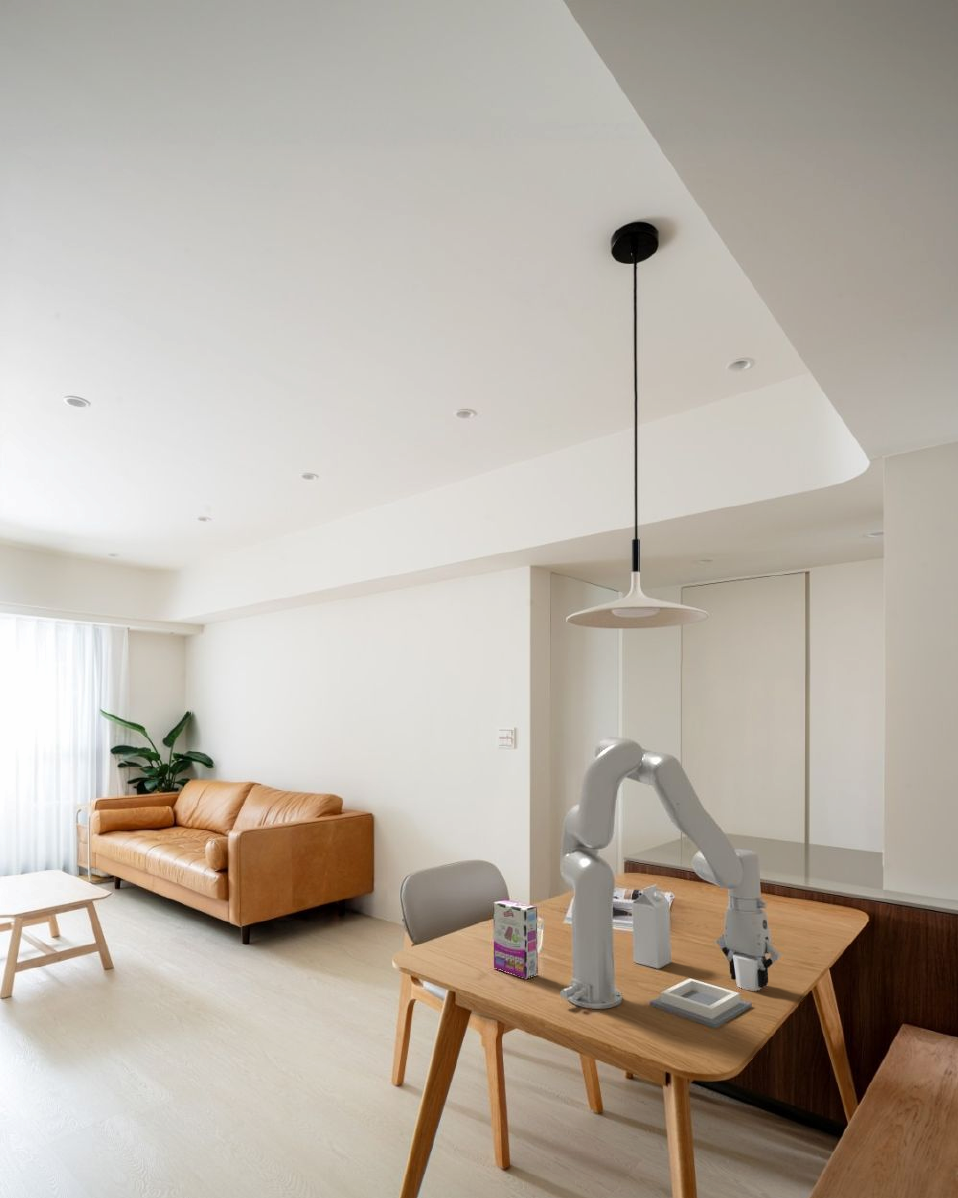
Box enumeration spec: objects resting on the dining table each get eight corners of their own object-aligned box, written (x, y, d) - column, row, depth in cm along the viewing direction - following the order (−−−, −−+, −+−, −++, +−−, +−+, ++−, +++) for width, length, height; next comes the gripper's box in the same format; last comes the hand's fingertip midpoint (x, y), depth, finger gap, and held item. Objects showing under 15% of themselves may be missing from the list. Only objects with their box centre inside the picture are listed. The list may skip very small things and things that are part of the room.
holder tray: (715, 1028, 149) (715, 1014, 149) (649, 1005, 161) (649, 992, 161) (751, 1006, 160) (751, 993, 160) (687, 986, 171) (687, 974, 172)
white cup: (739, 978, 176) (738, 948, 178) (768, 985, 172) (766, 954, 173) (729, 987, 171) (728, 956, 172) (759, 994, 167) (757, 962, 168)
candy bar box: (539, 975, 179) (538, 906, 181) (526, 980, 175) (525, 910, 178) (505, 964, 187) (505, 898, 189) (492, 969, 183) (492, 901, 186)
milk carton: (633, 963, 187) (631, 887, 190) (647, 956, 193) (645, 882, 195) (658, 969, 183) (655, 891, 186) (671, 962, 188) (668, 886, 191)
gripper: (786, 907, 171) (791, 988, 168) (719, 894, 183) (723, 969, 181) (772, 913, 166) (777, 997, 163) (704, 899, 178) (708, 976, 175)
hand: (749, 981), depth 172 cm, fingers closed on white cup, 6 cm apart
